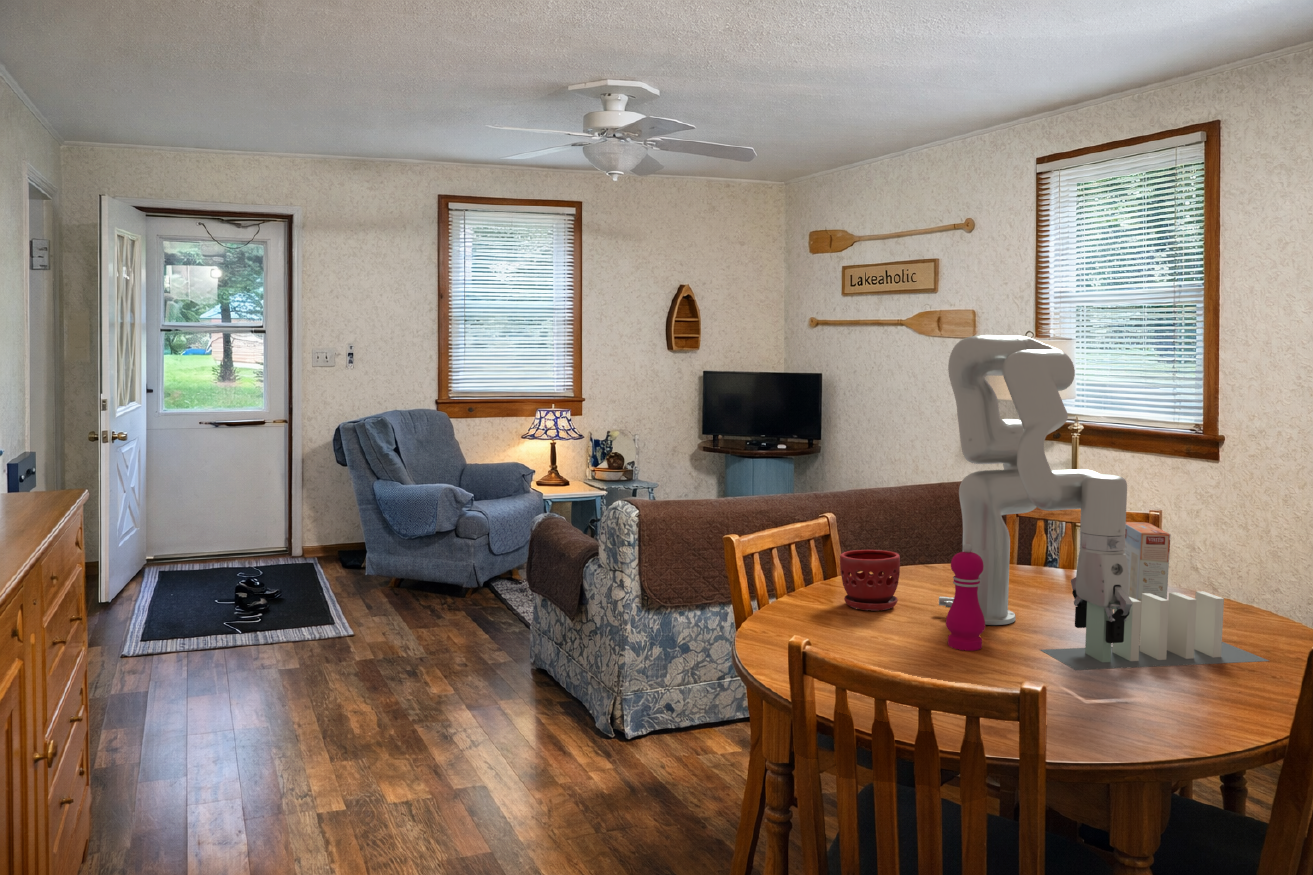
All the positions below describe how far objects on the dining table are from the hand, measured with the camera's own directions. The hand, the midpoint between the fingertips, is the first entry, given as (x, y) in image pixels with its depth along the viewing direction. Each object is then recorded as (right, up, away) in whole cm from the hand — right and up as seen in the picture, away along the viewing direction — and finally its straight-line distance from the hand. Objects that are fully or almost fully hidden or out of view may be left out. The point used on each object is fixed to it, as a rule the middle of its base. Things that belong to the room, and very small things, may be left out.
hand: (1098, 634), depth 179 cm
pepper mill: (-22, -4, +9) cm, 24 cm away
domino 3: (+16, -4, +3) cm, 17 cm away
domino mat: (+11, -5, +2) cm, 12 cm away
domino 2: (+11, -4, +2) cm, 12 cm away
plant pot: (-34, -2, +39) cm, 52 cm away
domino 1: (+5, -4, +1) cm, 7 cm away
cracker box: (+19, -3, +23) cm, 30 cm away
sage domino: (0, -4, 0) cm, 4 cm away
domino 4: (+22, -4, +3) cm, 22 cm away
